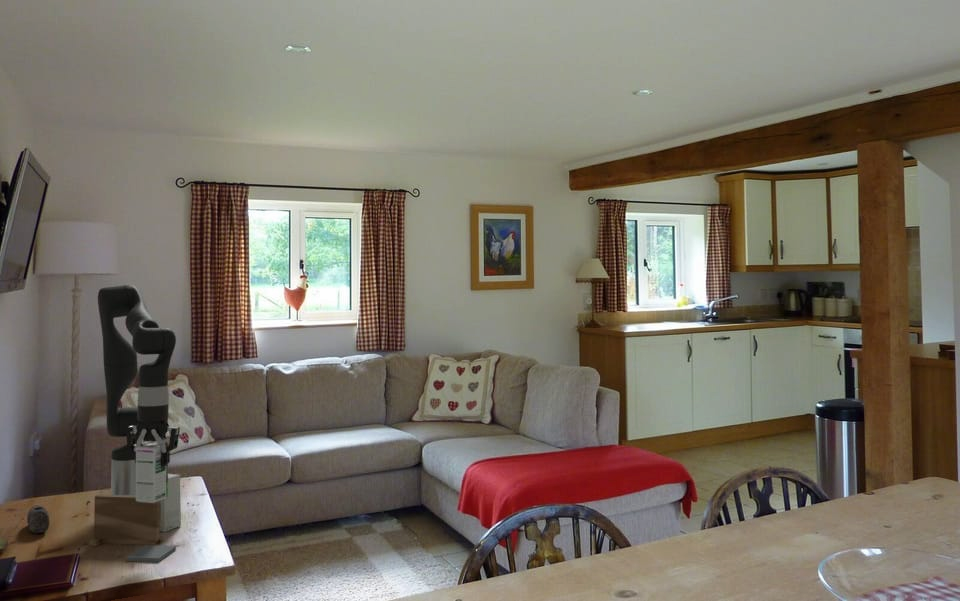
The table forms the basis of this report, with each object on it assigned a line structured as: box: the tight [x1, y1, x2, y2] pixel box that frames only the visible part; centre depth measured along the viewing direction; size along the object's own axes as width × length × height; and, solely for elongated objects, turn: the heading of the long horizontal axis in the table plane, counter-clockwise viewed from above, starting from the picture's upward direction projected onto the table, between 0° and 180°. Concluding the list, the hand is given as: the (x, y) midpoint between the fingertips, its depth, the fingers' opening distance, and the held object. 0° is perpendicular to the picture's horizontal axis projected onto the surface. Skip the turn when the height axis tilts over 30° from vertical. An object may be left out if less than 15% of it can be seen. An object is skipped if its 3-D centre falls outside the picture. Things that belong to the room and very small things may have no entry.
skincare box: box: [160, 473, 182, 533], centre depth 211 cm, size 8×7×16 cm
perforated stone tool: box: [26, 505, 51, 534], centre depth 208 cm, size 15×5×7 cm, turn 36°
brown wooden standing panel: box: [89, 493, 165, 547], centre depth 197 cm, size 6×18×13 cm, turn 86°
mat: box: [124, 545, 177, 563], centre depth 188 cm, size 9×9×1 cm
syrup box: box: [136, 442, 169, 503], centre depth 188 cm, size 6×6×14 cm
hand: (152, 465), depth 188 cm, fingers closed on syrup box, 6 cm apart
